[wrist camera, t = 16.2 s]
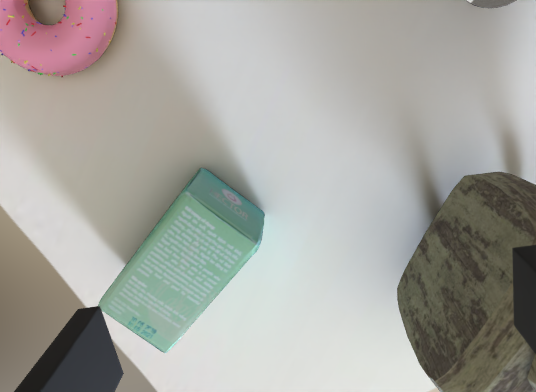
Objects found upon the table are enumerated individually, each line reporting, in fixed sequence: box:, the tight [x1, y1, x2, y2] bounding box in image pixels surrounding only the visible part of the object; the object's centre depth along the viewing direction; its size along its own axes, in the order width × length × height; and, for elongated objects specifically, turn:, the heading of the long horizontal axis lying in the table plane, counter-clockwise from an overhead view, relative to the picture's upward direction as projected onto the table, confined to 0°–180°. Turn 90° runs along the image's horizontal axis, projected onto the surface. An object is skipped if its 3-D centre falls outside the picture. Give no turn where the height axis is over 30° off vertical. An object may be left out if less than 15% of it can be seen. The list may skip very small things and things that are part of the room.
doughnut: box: [0, 0, 118, 77], centre depth 35 cm, size 11×11×4 cm
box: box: [98, 168, 265, 353], centre depth 40 cm, size 7×14×8 cm, turn 142°
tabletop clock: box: [397, 172, 536, 392], centre depth 30 cm, size 14×9×25 cm, turn 157°
